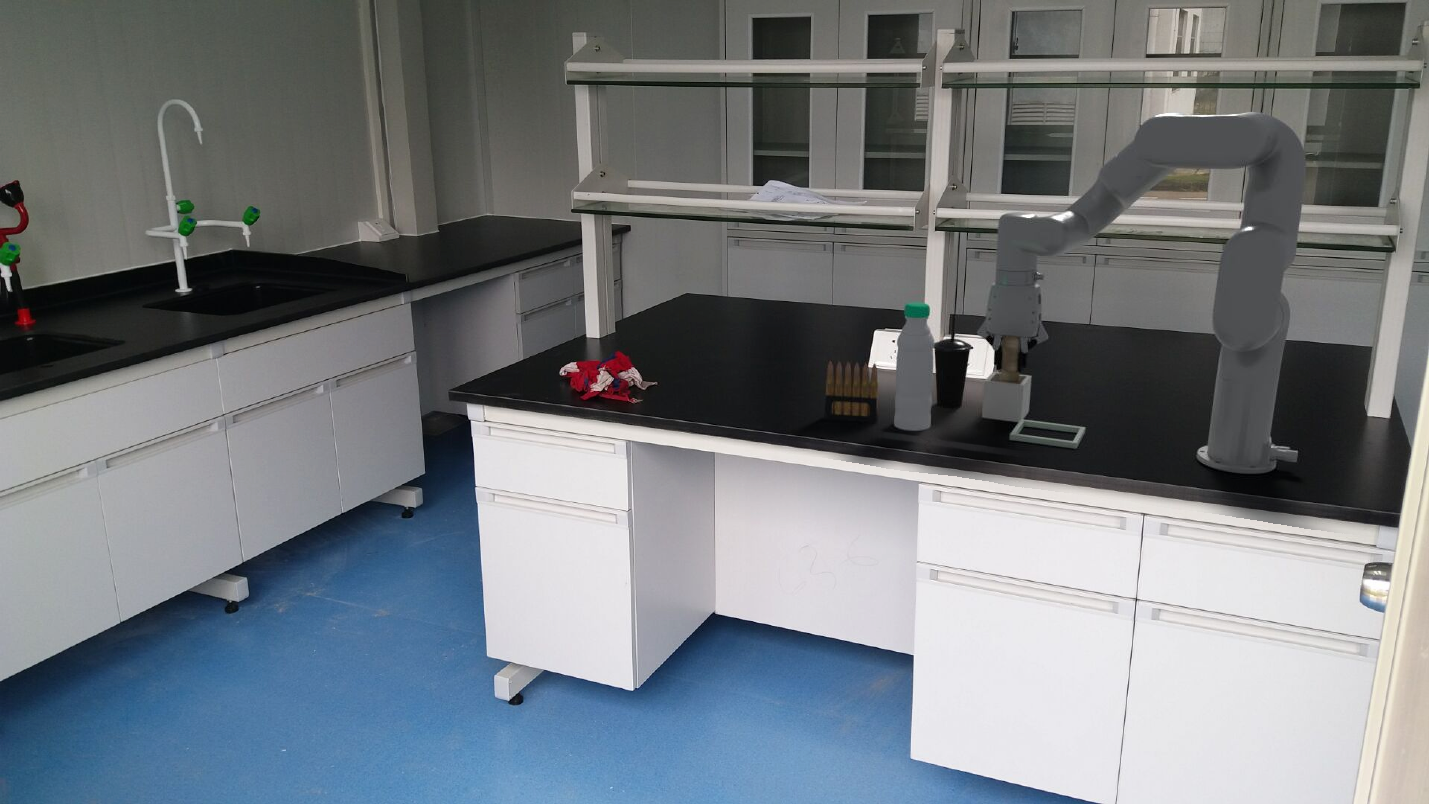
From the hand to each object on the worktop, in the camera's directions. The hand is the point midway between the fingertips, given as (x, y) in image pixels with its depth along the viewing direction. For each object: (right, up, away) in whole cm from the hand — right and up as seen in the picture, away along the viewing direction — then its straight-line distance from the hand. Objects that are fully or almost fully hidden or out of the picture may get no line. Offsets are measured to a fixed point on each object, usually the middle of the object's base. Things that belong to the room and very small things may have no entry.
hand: (1010, 368), depth 208 cm
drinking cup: (-10, -8, +10) cm, 16 cm away
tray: (+4, -14, -10) cm, 17 cm away
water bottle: (-20, -12, -2) cm, 23 cm away
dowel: (0, -8, +3) cm, 9 cm away
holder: (0, -10, +3) cm, 10 cm away
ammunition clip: (-31, -10, +5) cm, 33 cm away
